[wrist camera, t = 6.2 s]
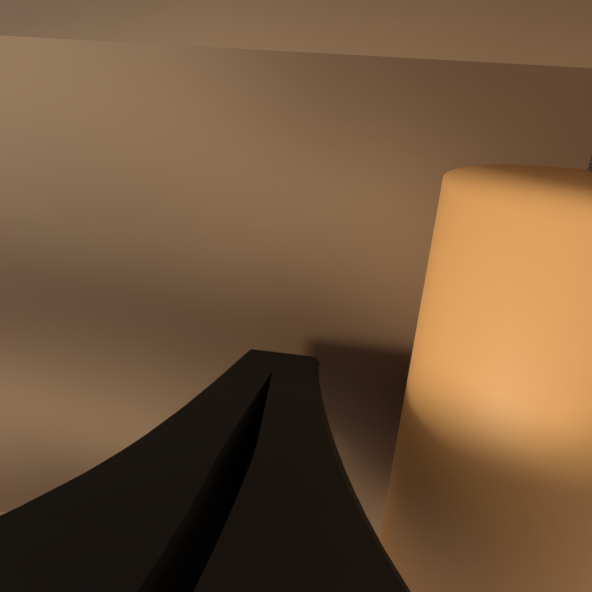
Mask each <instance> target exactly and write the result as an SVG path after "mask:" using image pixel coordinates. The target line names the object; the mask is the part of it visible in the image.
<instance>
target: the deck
mask: <svg viewBox="0 0 592 592" xmlns="http://www.w3.org/2000/svg"><path fill="white" fill-rule="evenodd" d="M591 157H592V0H0V515H3V514H5V513H7V512H9V511H11V510H13V509H15V508H18V507H20V506H22V505H23V504H25V503H27V502H29V501H31V500H33V499H35V498H37V497H39V496H41V495H43V494H45V493H47V492H49V491H51V490H52V489H54V488H56V487H58V486H60V485H62V484H64V483H66V482H68V481H70V480H72V479H74V478H76V477H78V476H79V475H81V474H83V473H85V472H87V471H88V470H90V469H92V468H94V467H95V466H97V465H99V464H100V463H102V462H104V461H105V460H107V459H109V458H110V457H112V456H114V455H115V454H117V453H118V452H120V451H122V450H123V449H125V448H126V447H128V446H130V445H131V444H133V443H134V442H136V441H137V440H139V439H140V438H141V437H143V436H144V435H146V434H147V433H149V432H150V431H151V430H153V429H154V428H155V427H157V426H158V425H159V424H161V423H162V422H163V421H165V420H166V419H168V418H169V417H170V416H172V415H173V414H174V413H176V412H177V411H178V410H180V409H181V408H182V407H183V406H185V405H186V404H187V403H188V402H190V401H191V400H192V399H193V398H194V397H196V396H197V395H198V394H199V393H201V392H202V391H203V390H204V389H205V388H207V387H208V386H209V385H210V384H211V383H213V382H214V381H215V380H216V379H217V378H218V377H219V376H221V375H222V374H223V373H224V372H225V371H226V370H227V369H228V368H230V367H231V366H232V365H233V364H234V363H235V362H236V361H237V360H239V359H240V358H241V357H242V356H243V355H244V354H245V353H247V352H248V351H249V350H251V349H255V350H263V351H271V352H280V353H288V354H297V355H305V356H313V357H315V358H316V359H317V360H318V361H319V362H320V367H319V383H320V389H321V395H322V400H323V404H324V408H325V412H326V415H327V419H328V422H329V426H330V429H331V432H332V435H333V438H334V441H335V444H336V447H337V450H338V452H339V455H340V457H341V460H342V463H343V465H344V468H345V470H346V473H347V475H348V477H349V480H350V482H351V484H352V486H353V489H354V491H355V493H356V495H357V497H358V499H359V501H360V503H361V505H362V507H363V510H364V512H365V514H366V516H367V518H368V519H369V521H370V523H371V525H372V527H373V529H374V531H375V532H376V534H377V536H378V538H380V533H381V527H382V521H383V516H384V510H385V504H386V499H387V493H388V487H389V481H390V476H391V470H392V464H393V459H394V453H395V447H396V442H397V436H398V430H399V424H400V419H401V413H402V407H403V402H404V396H405V390H406V385H407V379H408V373H409V368H410V362H411V356H412V350H413V345H414V339H415V333H416V328H417V322H418V316H419V311H420V305H421V299H422V293H423V288H424V282H425V276H426V271H427V265H428V259H429V254H430V248H431V242H432V236H433V231H434V225H435V219H436V214H437V208H438V202H439V197H440V191H441V185H442V179H443V176H444V175H445V173H447V172H449V171H451V170H454V169H457V168H462V167H468V166H478V165H536V166H551V167H564V168H575V169H584V170H588V167H589V163H590V160H591Z"/></svg>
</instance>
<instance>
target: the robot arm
mask: <svg viewBox="0 0 592 592" xmlns="http://www.w3.org/2000/svg"><path fill="white" fill-rule="evenodd" d="M319 367H320V362H319V361H318V360H317V359H316V358H315V357H313V356H305V355H297V354H288V353H280V352H271V351H263V350H255V349H251V350H249V351H248V352H247V353H245V354H244V355H243V356H242V357H241V358H240V359H239V360H237V361H236V362H235V363H234V364H233V365H232V366H231V367H230V368H228V369H227V370H226V371H225V372H224V373H223V374H222V375H221V376H219V377H218V378H217V379H216V380H215V381H214V382H213V383H211V384H210V385H209V386H208V387H207V388H205V389H204V390H203V391H202V392H201V393H199V394H198V395H197V396H196V397H194V398H193V399H192V400H191V401H190V402H188V403H187V404H186V405H185V406H183V407H182V408H181V409H180V410H178V411H177V412H176V413H174V414H173V415H172V416H170V417H169V418H168V419H166V420H165V421H163V422H162V423H161V424H159V425H158V426H157V427H155V428H154V429H153V430H151V431H150V432H149V433H147V434H146V435H144V436H143V437H141V438H140V439H139V440H137V441H136V442H134V443H133V444H131V445H130V446H128V447H126V448H125V449H123V450H122V451H120V452H118V453H117V454H115V455H114V456H112V457H110V458H109V459H107V460H105V461H104V462H102V463H100V464H99V465H97V466H95V467H94V468H92V469H90V470H88V471H87V472H85V473H83V474H81V475H79V476H78V477H76V478H74V479H72V480H70V481H68V482H66V483H64V484H62V485H60V486H58V487H56V488H54V489H52V490H51V491H49V492H47V493H45V494H43V495H41V496H39V497H37V498H35V499H33V500H31V501H29V502H27V503H25V504H23V505H22V506H20V507H18V508H15V509H13V510H11V511H9V512H7V513H5V514H3V515H0V592H411V591H410V590H409V588H408V586H407V585H406V583H405V581H404V580H403V578H402V577H401V575H400V573H399V572H398V570H397V569H396V567H395V565H394V564H393V562H392V560H391V559H390V557H389V556H388V554H387V552H386V551H385V549H384V547H383V545H382V544H381V542H380V540H379V538H378V536H377V534H376V532H375V531H374V529H373V527H372V525H371V523H370V521H369V519H368V518H367V516H366V514H365V512H364V510H363V507H362V505H361V503H360V501H359V499H358V497H357V495H356V493H355V491H354V489H353V486H352V484H351V482H350V480H349V477H348V475H347V473H346V470H345V468H344V465H343V463H342V460H341V457H340V455H339V452H338V450H337V447H336V444H335V441H334V438H333V435H332V432H331V429H330V426H329V422H328V419H327V415H326V412H325V408H324V404H323V400H322V395H321V389H320V383H319Z"/></svg>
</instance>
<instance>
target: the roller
mask: <svg viewBox="0 0 592 592" xmlns="http://www.w3.org/2000/svg"><path fill="white" fill-rule="evenodd" d="M379 540H380V542H381V544H382V545H383V547H384V549H385V551H386V552H387V554H388V556H389V557H390V559H391V560H392V562H393V564H394V565H395V567H396V569H397V570H398V572H399V573H400V575H401V577H402V578H403V580H404V581H405V583H406V585H407V586H408V588H409V590H410V591H411V592H592V170H584V169H575V168H564V167H551V166H536V165H478V166H468V167H462V168H457V169H454V170H451V171H449V172H447V173H445V175H444V176H443V179H442V185H441V191H440V197H439V202H438V208H437V214H436V219H435V225H434V231H433V236H432V242H431V248H430V254H429V259H428V265H427V271H426V276H425V282H424V288H423V293H422V299H421V305H420V311H419V316H418V322H417V328H416V333H415V339H414V345H413V350H412V356H411V362H410V368H409V373H408V379H407V385H406V390H405V396H404V402H403V407H402V413H401V419H400V424H399V430H398V436H397V442H396V447H395V453H394V459H393V464H392V470H391V476H390V481H389V487H388V493H387V499H386V504H385V510H384V516H383V521H382V527H381V533H380V538H379Z"/></svg>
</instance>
